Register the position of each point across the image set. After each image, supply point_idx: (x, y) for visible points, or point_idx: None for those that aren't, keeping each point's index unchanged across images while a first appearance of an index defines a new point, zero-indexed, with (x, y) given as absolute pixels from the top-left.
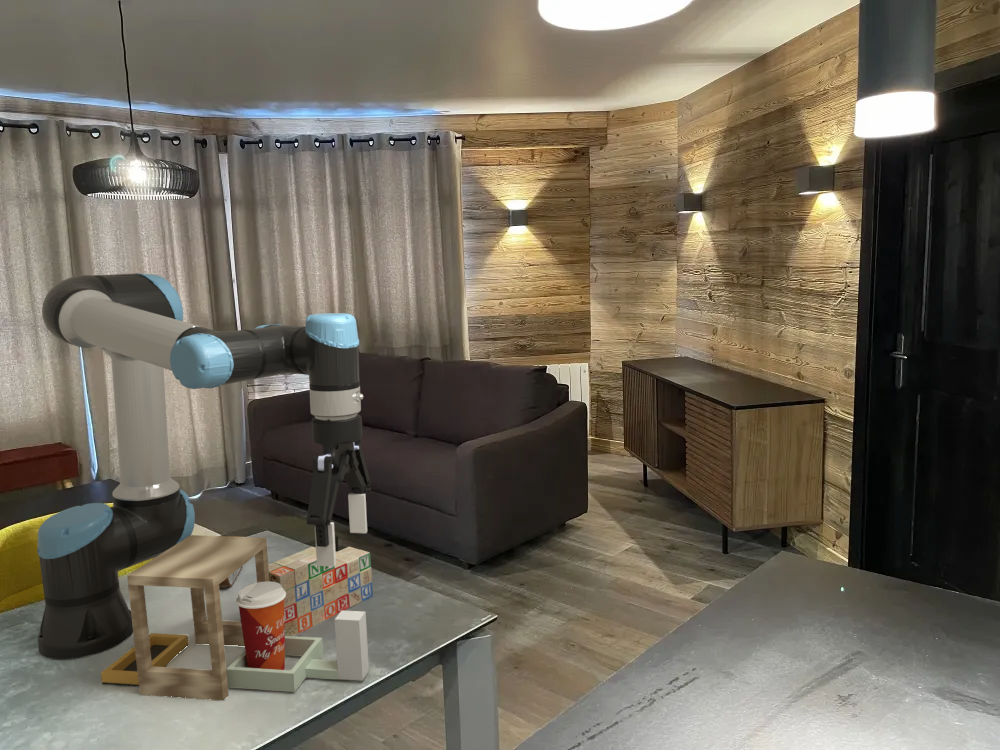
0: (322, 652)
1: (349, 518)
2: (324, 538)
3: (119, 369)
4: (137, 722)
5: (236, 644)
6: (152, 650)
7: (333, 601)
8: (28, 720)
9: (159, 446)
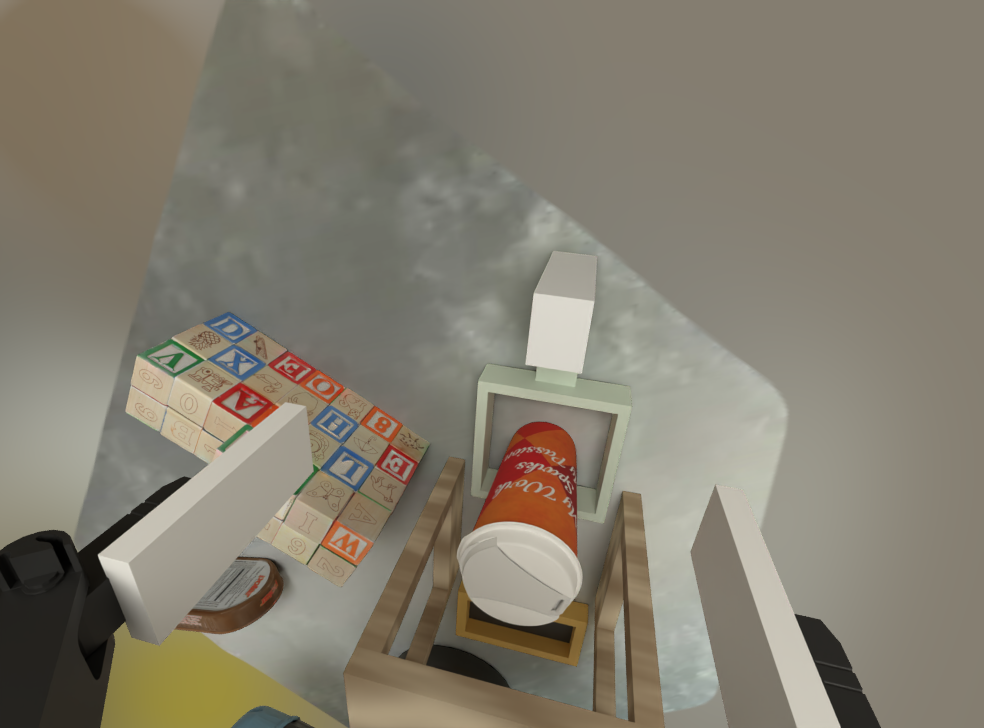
0: (487, 366)
1: (269, 519)
2: (858, 689)
3: None
4: (690, 589)
5: (460, 514)
6: (486, 615)
7: (306, 388)
8: (664, 696)
9: None
